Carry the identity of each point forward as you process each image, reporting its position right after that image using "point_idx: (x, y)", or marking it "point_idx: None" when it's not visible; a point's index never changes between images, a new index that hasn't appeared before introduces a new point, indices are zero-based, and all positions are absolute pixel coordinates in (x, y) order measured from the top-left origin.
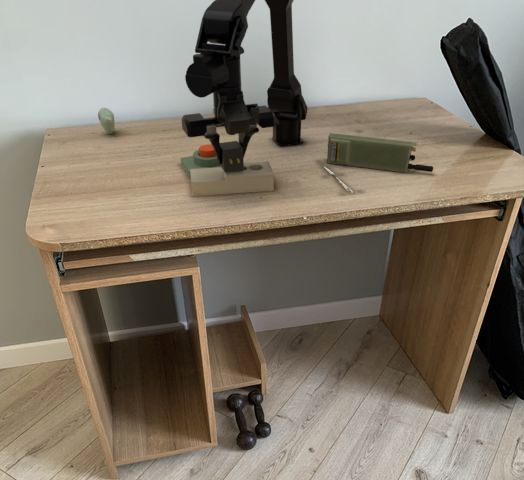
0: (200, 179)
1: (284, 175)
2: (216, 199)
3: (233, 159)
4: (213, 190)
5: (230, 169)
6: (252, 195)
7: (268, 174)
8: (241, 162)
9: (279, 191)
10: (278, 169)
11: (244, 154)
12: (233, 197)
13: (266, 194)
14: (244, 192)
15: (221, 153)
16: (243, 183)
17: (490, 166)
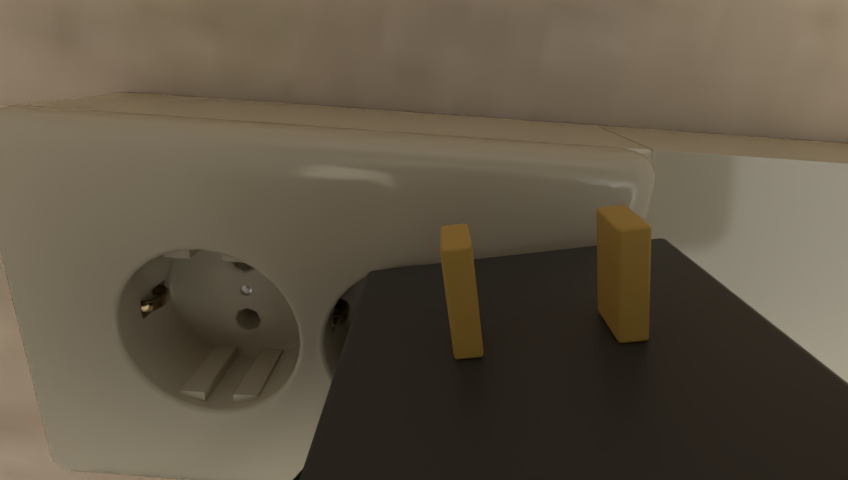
0: None
1: (27, 373)
2: (713, 23)
3: (546, 339)
4: (732, 140)
5: (574, 251)
6: (336, 34)
7: (42, 111)
8: (388, 314)
9: (61, 66)
10: (79, 476)
11: (297, 477)
12: (533, 31)
13: (193, 25)
14: (405, 113)
15: None
16: (407, 125)
17: None
